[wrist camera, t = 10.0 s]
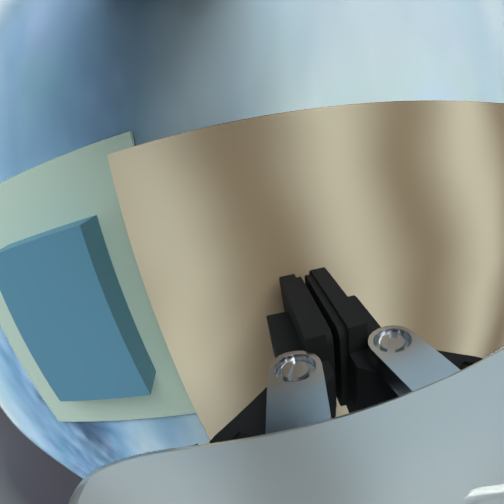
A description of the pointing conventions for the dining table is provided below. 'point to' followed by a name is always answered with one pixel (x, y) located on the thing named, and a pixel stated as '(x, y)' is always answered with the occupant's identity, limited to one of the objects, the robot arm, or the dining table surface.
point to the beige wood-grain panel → (317, 231)
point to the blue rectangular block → (75, 314)
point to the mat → (123, 259)
